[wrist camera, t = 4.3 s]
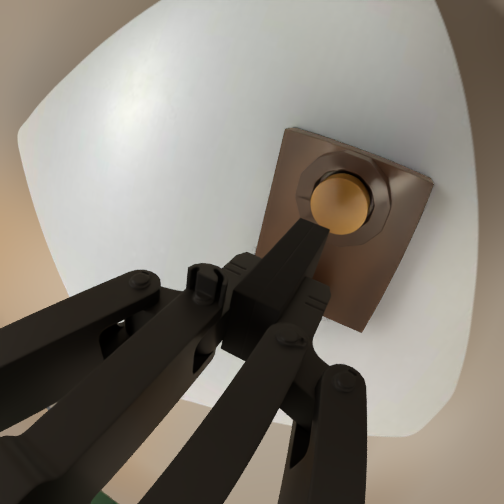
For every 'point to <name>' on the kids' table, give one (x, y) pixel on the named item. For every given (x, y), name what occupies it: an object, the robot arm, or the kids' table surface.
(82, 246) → the kids' table surface
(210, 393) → the kids' table surface
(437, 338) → the kids' table surface
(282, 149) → the lamp base
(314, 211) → the lamp switch
